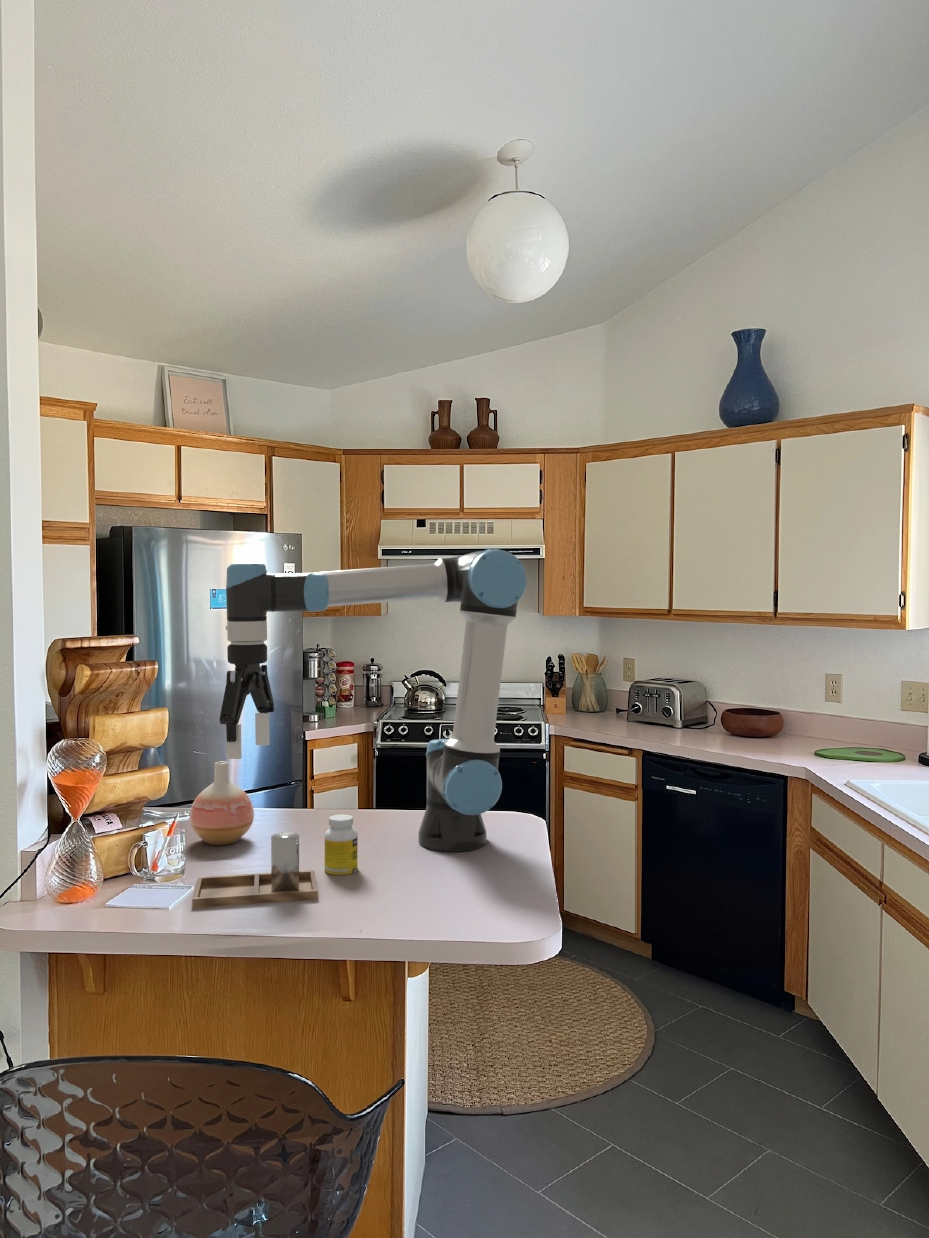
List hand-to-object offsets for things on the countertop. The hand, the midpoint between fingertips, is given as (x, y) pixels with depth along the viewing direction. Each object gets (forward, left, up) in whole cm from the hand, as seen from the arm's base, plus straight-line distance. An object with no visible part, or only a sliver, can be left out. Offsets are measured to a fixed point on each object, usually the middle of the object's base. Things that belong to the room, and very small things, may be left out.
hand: (248, 751), depth 173 cm
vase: (+6, -24, -25) cm, 35 cm away
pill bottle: (-18, +4, -25) cm, 31 cm away
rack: (-2, +13, -25) cm, 28 cm away
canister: (-7, +13, -23) cm, 28 cm away
